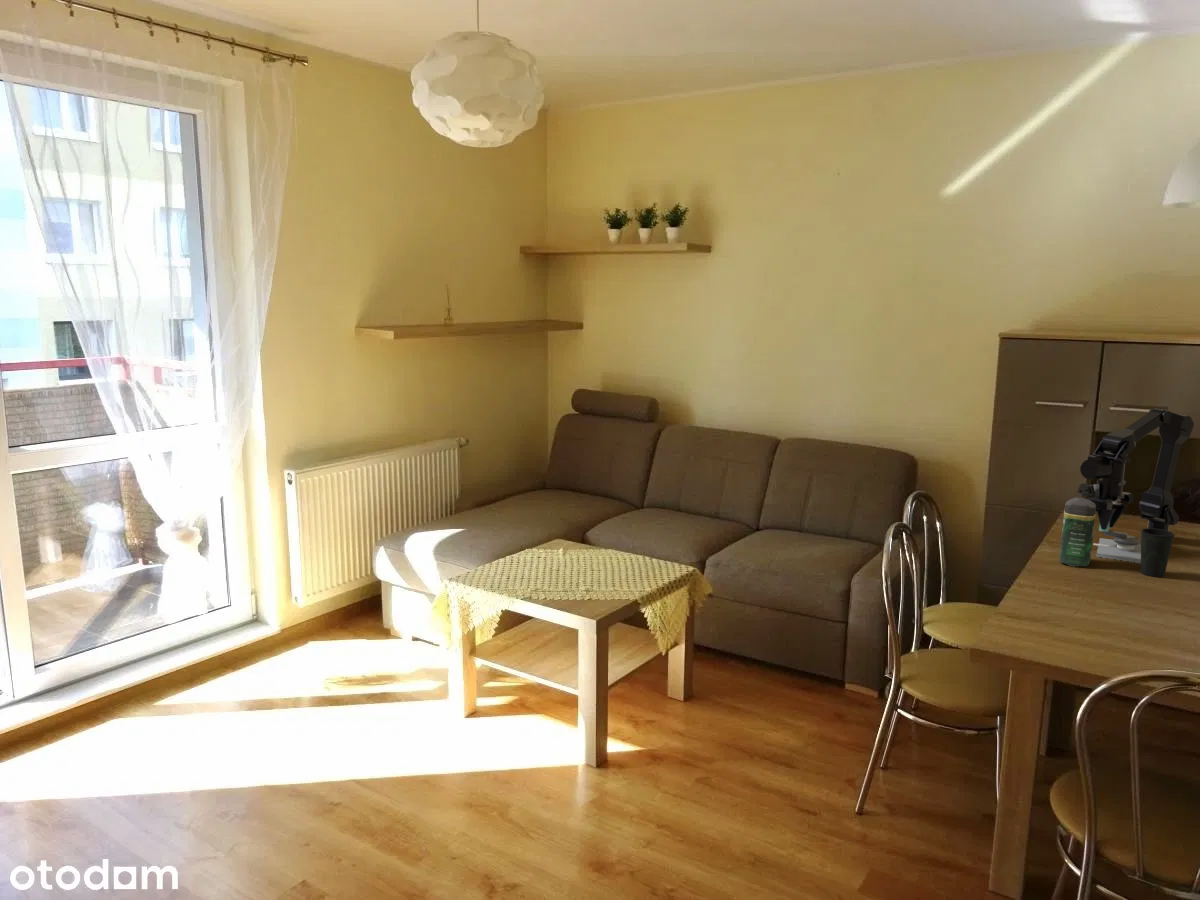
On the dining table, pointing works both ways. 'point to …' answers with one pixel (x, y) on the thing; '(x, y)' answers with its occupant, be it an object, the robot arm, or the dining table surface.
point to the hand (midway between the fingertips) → (1106, 528)
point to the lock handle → (1120, 536)
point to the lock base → (1118, 551)
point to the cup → (1155, 551)
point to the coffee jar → (1077, 532)
